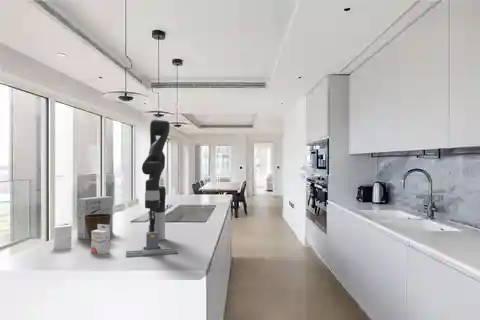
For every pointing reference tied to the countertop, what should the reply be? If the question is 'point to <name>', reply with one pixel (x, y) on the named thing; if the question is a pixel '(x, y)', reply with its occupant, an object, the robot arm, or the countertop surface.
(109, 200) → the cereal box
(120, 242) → the countertop surface
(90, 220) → the plant pot
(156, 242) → the module
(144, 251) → the rail
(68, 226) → the white box
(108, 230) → the ink cartridge box
